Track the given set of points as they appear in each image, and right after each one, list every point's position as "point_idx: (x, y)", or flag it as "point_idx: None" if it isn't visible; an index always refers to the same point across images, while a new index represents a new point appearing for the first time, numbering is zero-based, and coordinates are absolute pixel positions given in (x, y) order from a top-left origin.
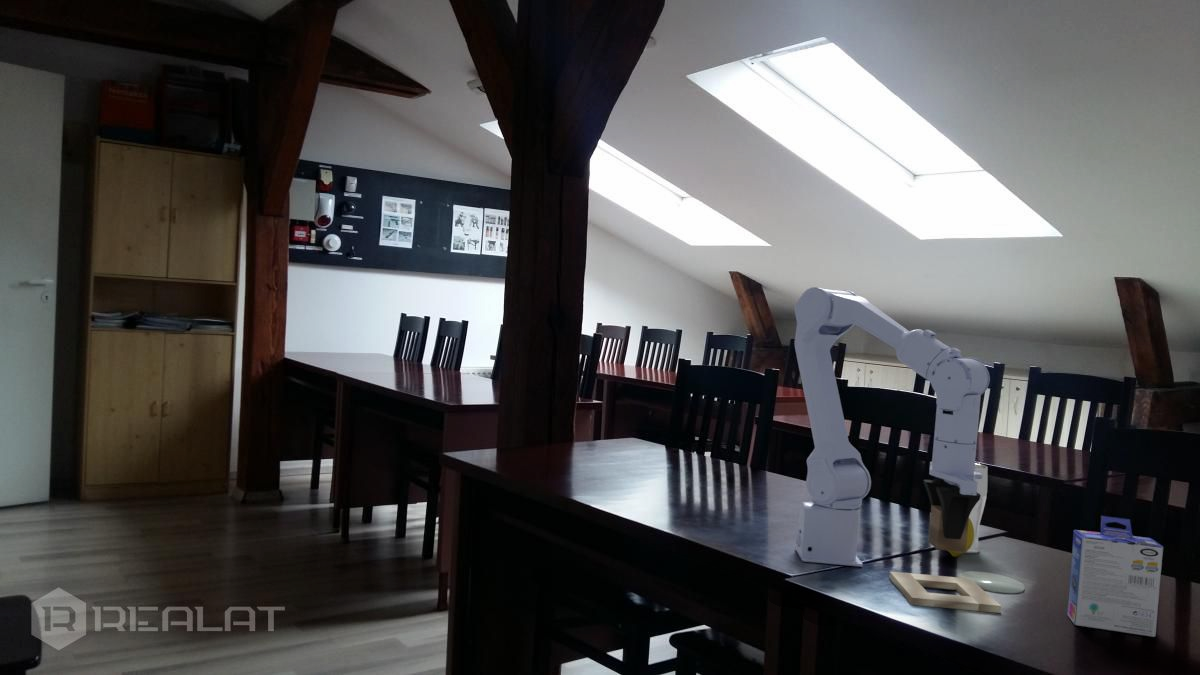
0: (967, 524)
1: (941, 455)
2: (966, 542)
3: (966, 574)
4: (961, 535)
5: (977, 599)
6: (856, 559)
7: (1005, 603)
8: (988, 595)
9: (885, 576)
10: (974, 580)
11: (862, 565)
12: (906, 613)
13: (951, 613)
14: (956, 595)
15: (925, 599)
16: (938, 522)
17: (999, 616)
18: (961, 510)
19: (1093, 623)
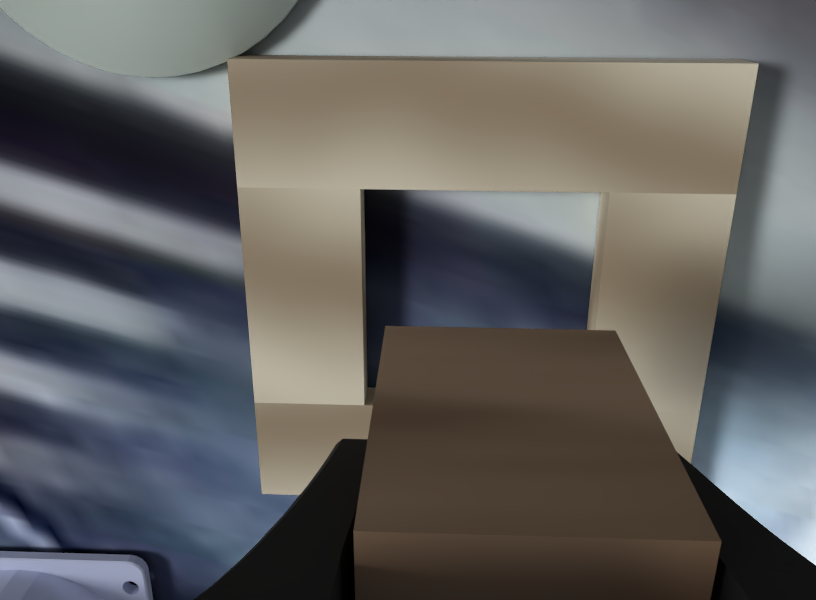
0: (676, 466)
1: None
2: (630, 366)
3: (48, 12)
4: (689, 463)
5: (659, 173)
6: (66, 574)
7: None
8: (566, 68)
9: (247, 482)
10: (170, 3)
11: (136, 558)
12: (792, 534)
13: (772, 339)
14: (605, 272)
15: (691, 449)
16: None
17: (796, 89)
18: None
19: None
